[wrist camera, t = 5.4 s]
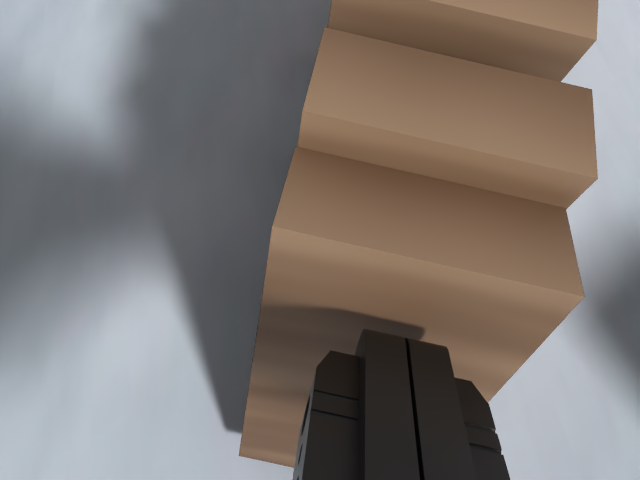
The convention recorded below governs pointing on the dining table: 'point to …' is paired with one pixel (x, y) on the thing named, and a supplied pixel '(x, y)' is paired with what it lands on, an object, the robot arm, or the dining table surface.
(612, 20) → the dining table surface
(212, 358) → the dining table surface
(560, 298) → the tile
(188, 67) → the dining table surface
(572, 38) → the tile
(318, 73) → the tile
